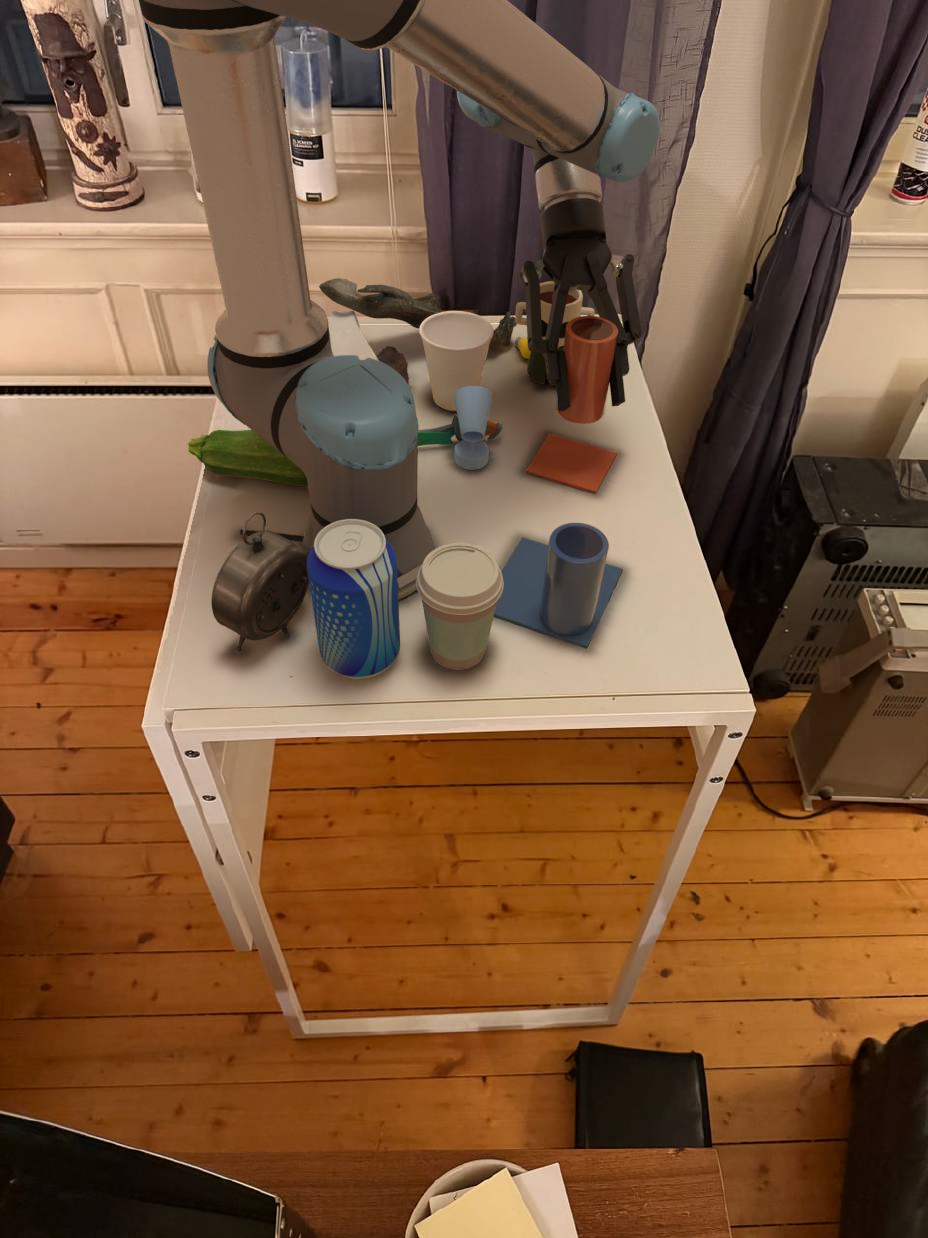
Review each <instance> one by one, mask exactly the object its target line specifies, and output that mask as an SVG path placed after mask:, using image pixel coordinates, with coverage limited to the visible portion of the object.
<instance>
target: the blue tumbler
mask: <svg viewBox="0 0 928 1238" xmlns="http://www.w3.org/2000/svg"><path fill="white" fill-rule="evenodd" d="M548 545H549V546H548V553H547V560H546V568H545V575H544V582H543V590H542V597H541V604H540V612H539V615H540V619H541V621H542V623H543V624H544V626H545V627H546V628H548V629H549V630H550V631H552V632H554V633H556V634H559V635H564V636H575V635H579V634H582V633H584V632H586V631H587V630H588V629H589V628H590V627H591V626H592V624H593V621H594V616H595V611H596V607H597V602H598V597H599V592H600V587H601V582H602V578H603V573H604V568H605V563H606V564H607V558H608V553H609V548H610V543H609V540H608V538H607V536H606V535H605V533H604V532H603V531H602V530H600V529H599V528H598V527H595V526H594V525H592V524H588V523H583V522H568V523H565V524H561V525H559V526H558V527H556V528H555V529H554V530H552V532H551V534H550V535H549V540H548Z"/></svg>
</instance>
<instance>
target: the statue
mask: <svg viewBox="0 0 928 1238" xmlns="http://www.w3.org/2000/svg"><path fill="white" fill-rule="evenodd" d="M318 288H319V289H320V291H321V292H322V293H323V294H324V295H325V296H326V297H327V298H328V299H330V300H331V301H332V302H334V303H336V304H338V305H340V306H343V307H345V308H346V309H349V310H351V311H354V312H355V313H359V314H360V315H363V316H366V317H367V318H372V319H376V320H378V319H379V320H380V319H381V320H382V319H383V320H384V319H392V320H398V321H401V322H405V323H406V324H408V325H410V326H411V327H413V328H415V329H418V330H419V328H420V325H421V323H422V322H423V321H424V320H425V319H426V318H428V317H429V316H431V315H434V314H437V313H441V312H445V310H442V309H440V308H438V307H437V305H438V302H439V300H440V295H437V294H434V293H429V294H428V295H425V296H421V297H416V298H413V296H412V295H410V294H409V293H407V292H406V291H404V290H403V289H400V288H398V287H395V286H391V285H387V284H366V285H365V287H363V288H359V289H358V284H357V283H355V282H352V281H351V280H348V279H347V278H339V277H337V278H331V279H329V280H325V281H324V282H322V283H321V284H319V285H318ZM361 293H365V294H366V295H363V294H361ZM498 323H499V324H498V326H497V327H496V328H495V329H493V330H494V333H493V337H492V339H491V340H490V344H489V346H493V347H507V346H508V345H509V344H510V343H511V339H512V335H513V332H514V328H516V327H517V326H518V324H517V323H516V322H515V316H512V315H511V312H510V311H507V312H506V313H505V314H504V316H503V317H502V318H501V319H500V320H499V322H498Z"/></svg>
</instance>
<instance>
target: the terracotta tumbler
mask: <svg viewBox="0 0 928 1238" xmlns="http://www.w3.org/2000/svg"><path fill="white" fill-rule="evenodd" d="M617 336H618V329H617V327H616V325H615V324H614V323H612V322H611V321H609V320H607V319H604V318H601V317H599V316H596V315H594V316H587V315H582V316H581V315H580V317H577V318H574V319H572V320H570V321H569V322H568V323H567V325H566V332H565V340H564V348H563V351H565V358H566V368H567V377H568V386H569V395H570V405H571V407H569V408H568V409H567V410H565V411H558V402H557V401H556V405H555V406H556V407H555V409H556V410H555V411H556V412H557V414H558V416H559V417H561V419H563V420H565V421H567V422H569V423H573V424H578V425H587V424H594V423H596V422H599V421H600V420H601V419H602V418H603V417H604V414H605V411H606V404H607V400H608V394H609V389H610V377H611V371H612V365H613V359H614V353H615V348H616V342H617Z"/></svg>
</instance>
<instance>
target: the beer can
mask: <svg viewBox="0 0 928 1238" xmlns="http://www.w3.org/2000/svg"><path fill="white" fill-rule="evenodd" d="M307 571H308V578H309V590H310V597H311V603H312V604H311V605H312V610H313V618H314V625H315V631H316V637H317V644H318V645H317V646H318V650H319V655H320V657H321V658H320V659H321V660H322V661H323V663H324V664H325V666H326V667H327V668H329V670H331V671H332V672H334V673H336V674H337V675H340V676H341V677H345V678H347V679H350V680H351V679H352V680H365V679H370V678H374V677H376V676H378V675H380V674H381V673H383V672H384V671H386V670H387V669H388V668H389V667H390V666H391V665H393V664H394V662H395V661H396V660H397V657H398V656H399V654H400V649H401V632H400V609H399V607H400V606H399V600H398V581H397V559H396V554H395V551H394V549H393V547H392V546H391V544H390V543H389V542H388V541H387V540H386V539H385V536H384V534H383V532H382V531H381V530H380V529H379V528H378V527H377V526H376V525H374V524H372V523H370V522H367V521H364V520H358V519H345V520H340V521H336V522H333V523H331V524H329V525H327V526H326V527H324V528H323V529H322V530H321V531H320V532H319V533H318V534H317V536H316V538H315V541H314V546H313V547H312V549H311V550H310V552H309V555H308V558H307Z"/></svg>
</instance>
